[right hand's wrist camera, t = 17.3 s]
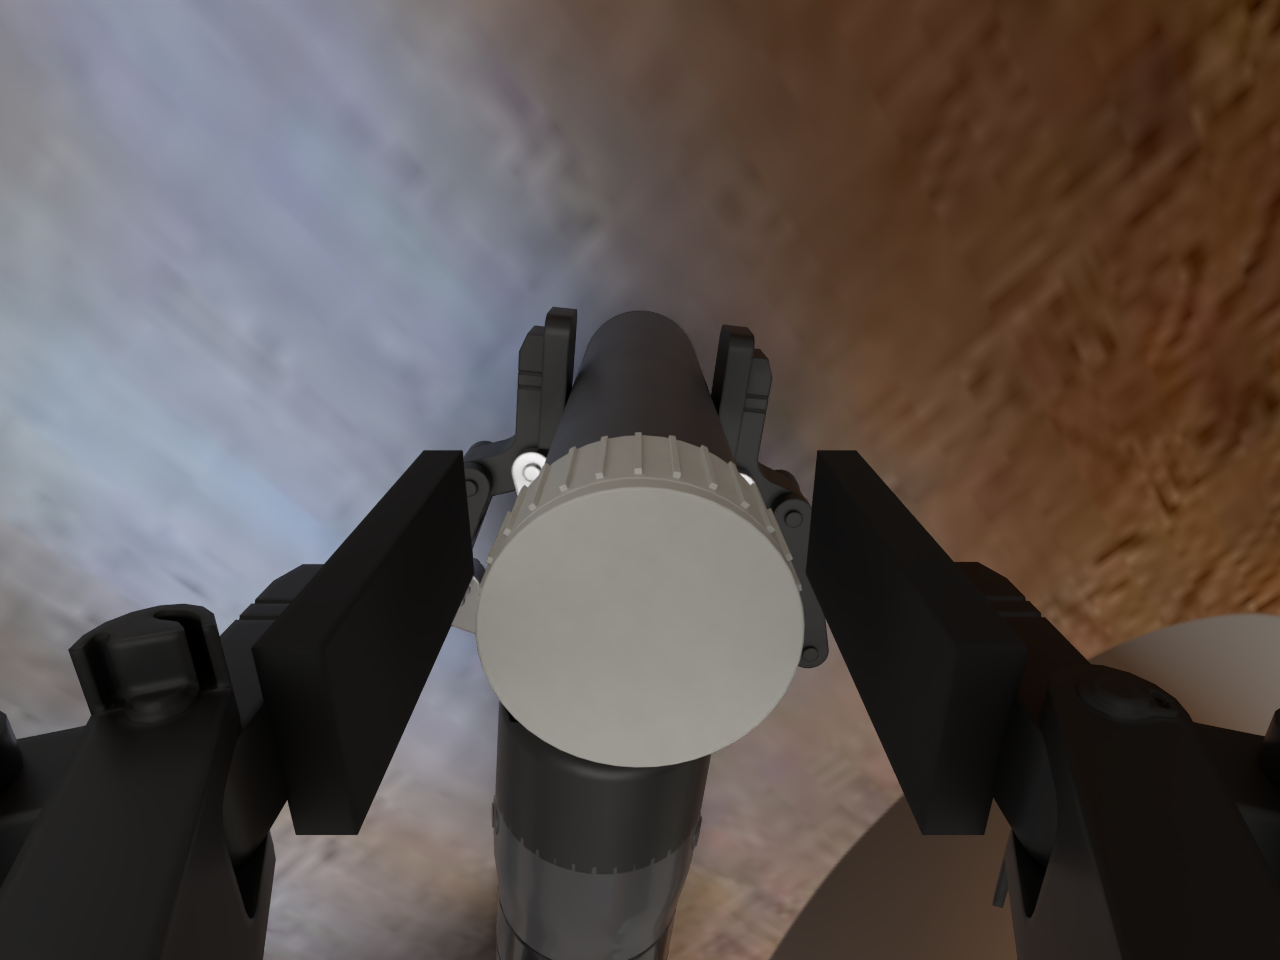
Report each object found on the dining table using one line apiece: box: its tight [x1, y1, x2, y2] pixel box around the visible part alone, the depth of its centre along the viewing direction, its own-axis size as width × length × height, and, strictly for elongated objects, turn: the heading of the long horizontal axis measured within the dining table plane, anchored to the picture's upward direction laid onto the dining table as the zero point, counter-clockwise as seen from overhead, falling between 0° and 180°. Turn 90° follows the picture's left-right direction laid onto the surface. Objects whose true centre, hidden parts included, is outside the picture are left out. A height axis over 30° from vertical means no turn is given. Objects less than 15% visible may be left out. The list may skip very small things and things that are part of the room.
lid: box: [476, 432, 805, 767], centre depth 11 cm, size 5×5×2 cm
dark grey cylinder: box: [544, 311, 739, 473], centre depth 19 cm, size 4×4×17 cm
